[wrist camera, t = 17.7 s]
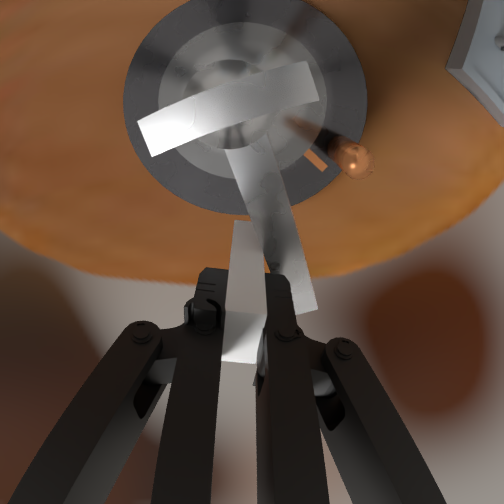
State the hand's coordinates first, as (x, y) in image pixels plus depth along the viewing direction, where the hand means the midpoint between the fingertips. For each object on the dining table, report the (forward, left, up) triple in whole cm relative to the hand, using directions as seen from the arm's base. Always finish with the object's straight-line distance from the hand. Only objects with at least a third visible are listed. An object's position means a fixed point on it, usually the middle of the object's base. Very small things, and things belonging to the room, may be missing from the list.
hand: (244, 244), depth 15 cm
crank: (-5, -1, -6) cm, 8 cm away
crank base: (-7, -3, -8) cm, 11 cm away
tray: (-26, +15, -8) cm, 31 cm away
